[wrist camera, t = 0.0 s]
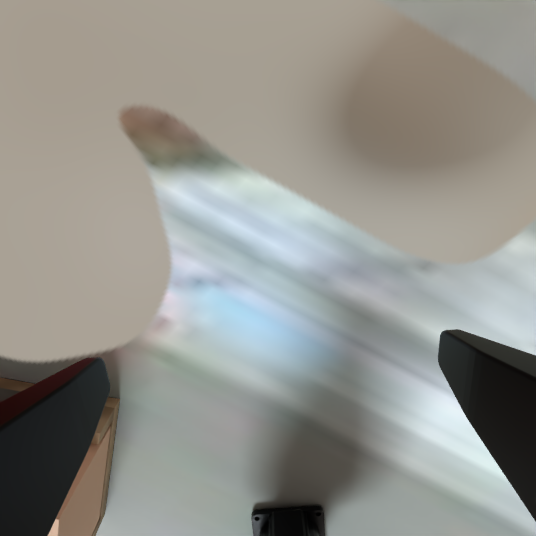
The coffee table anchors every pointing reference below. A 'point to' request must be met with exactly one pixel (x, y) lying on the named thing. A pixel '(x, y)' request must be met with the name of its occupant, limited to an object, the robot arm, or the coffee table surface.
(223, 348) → the coffee table surface
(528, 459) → the robot arm
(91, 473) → the block
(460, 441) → the coffee table surface
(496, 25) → the coffee table surface
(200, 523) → the coffee table surface
